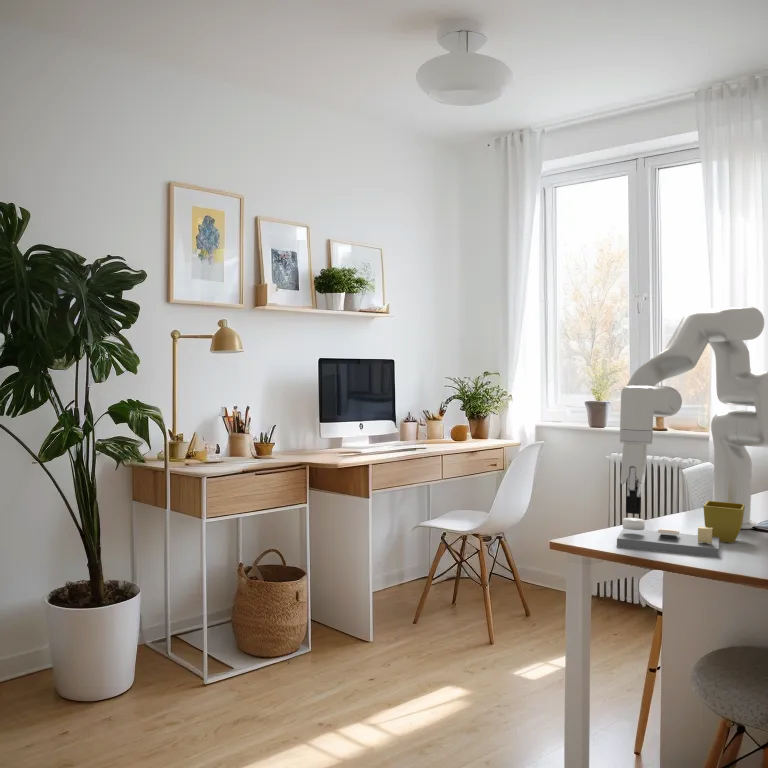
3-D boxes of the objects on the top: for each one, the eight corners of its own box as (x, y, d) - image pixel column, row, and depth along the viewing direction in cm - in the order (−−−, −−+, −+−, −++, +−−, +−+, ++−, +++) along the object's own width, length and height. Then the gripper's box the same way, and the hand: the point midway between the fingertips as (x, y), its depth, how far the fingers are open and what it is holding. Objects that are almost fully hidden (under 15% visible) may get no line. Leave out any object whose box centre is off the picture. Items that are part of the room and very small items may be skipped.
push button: (623, 525, 190) (624, 517, 190) (645, 527, 188) (645, 519, 188) (621, 528, 185) (621, 520, 185) (643, 530, 183) (643, 522, 183)
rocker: (659, 531, 187) (659, 528, 187) (679, 533, 185) (679, 530, 185) (657, 533, 181) (658, 529, 181) (677, 535, 179) (678, 531, 180)
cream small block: (697, 540, 179) (698, 526, 179) (711, 541, 178) (712, 527, 178) (697, 541, 177) (698, 528, 177) (711, 543, 176) (712, 529, 176)
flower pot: (741, 546, 185) (742, 509, 185) (702, 541, 189) (703, 505, 189) (744, 539, 193) (745, 504, 193) (706, 535, 197) (707, 500, 197)
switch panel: (623, 535, 194) (623, 525, 194) (718, 545, 185) (719, 534, 185) (616, 546, 181) (616, 535, 181) (718, 557, 172) (719, 546, 172)
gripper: (623, 434, 194) (620, 507, 194) (615, 438, 181) (613, 516, 181) (654, 436, 191) (652, 510, 191) (649, 440, 178) (646, 519, 178)
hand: (633, 512), depth 186 cm, fingers closed
